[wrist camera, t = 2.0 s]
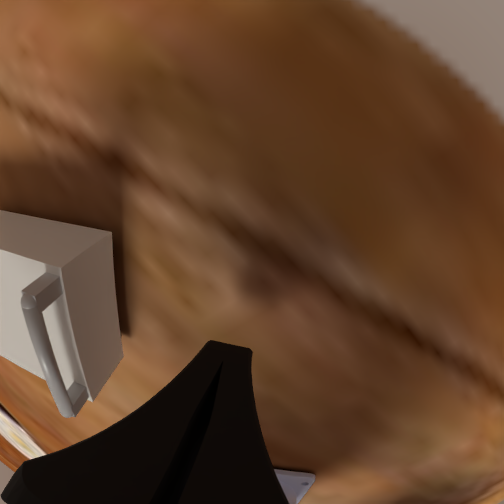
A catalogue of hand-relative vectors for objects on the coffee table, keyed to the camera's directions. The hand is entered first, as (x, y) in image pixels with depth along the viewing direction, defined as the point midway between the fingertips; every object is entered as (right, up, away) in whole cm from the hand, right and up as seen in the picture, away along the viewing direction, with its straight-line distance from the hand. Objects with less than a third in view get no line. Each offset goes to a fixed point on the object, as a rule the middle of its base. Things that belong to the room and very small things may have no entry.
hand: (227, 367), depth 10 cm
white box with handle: (-8, +3, +3) cm, 9 cm away
